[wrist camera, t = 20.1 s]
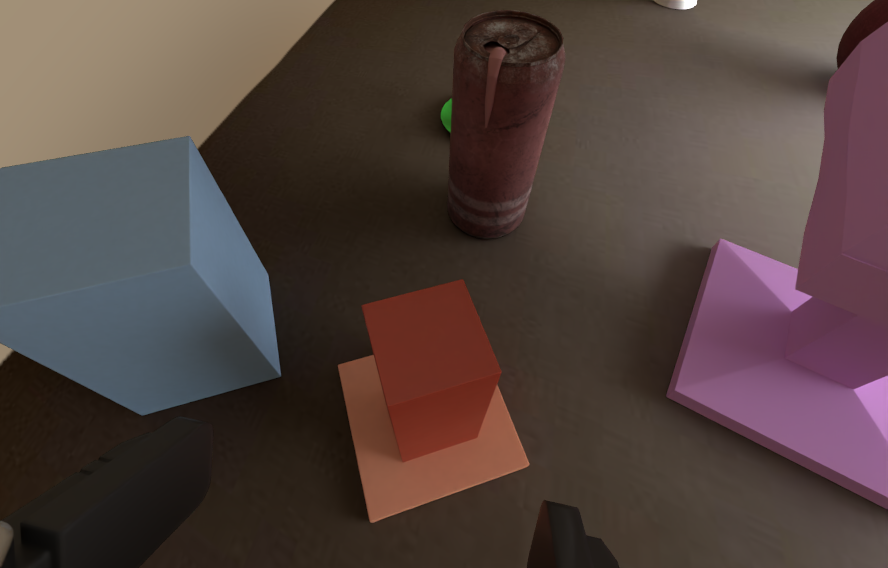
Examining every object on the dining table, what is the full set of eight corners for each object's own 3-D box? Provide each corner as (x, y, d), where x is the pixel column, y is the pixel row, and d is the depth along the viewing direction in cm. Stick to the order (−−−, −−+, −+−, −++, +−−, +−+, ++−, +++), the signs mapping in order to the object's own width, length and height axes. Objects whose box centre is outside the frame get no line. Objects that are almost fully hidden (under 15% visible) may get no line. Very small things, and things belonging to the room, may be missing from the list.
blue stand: (142, 416, 25) (-51, 318, 15) (147, 303, 29) (-1, 167, 19) (281, 376, 27) (191, 264, 17) (268, 275, 31) (189, 135, 21)
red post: (402, 462, 24) (386, 407, 15) (383, 388, 26) (361, 304, 17) (477, 437, 24) (502, 372, 16) (453, 367, 27) (463, 278, 18)
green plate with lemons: (525, 153, 39) (531, 126, 36) (436, 146, 39) (436, 119, 36) (524, 100, 43) (529, 73, 41) (444, 93, 43) (445, 66, 41)
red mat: (371, 523, 22) (369, 522, 22) (339, 368, 27) (337, 364, 27) (527, 467, 24) (529, 464, 24) (473, 330, 29) (473, 326, 28)
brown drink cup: (438, 236, 33) (443, 57, 21) (456, 180, 36) (467, -2, 25) (517, 251, 32) (565, 76, 21) (527, 192, 36) (573, 13, 24)
